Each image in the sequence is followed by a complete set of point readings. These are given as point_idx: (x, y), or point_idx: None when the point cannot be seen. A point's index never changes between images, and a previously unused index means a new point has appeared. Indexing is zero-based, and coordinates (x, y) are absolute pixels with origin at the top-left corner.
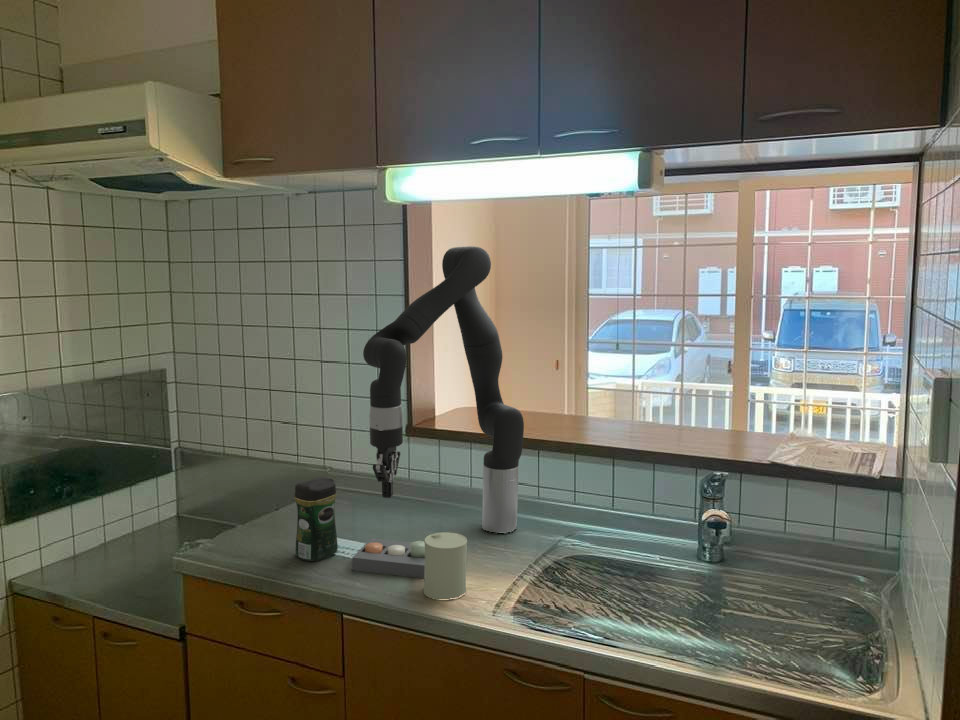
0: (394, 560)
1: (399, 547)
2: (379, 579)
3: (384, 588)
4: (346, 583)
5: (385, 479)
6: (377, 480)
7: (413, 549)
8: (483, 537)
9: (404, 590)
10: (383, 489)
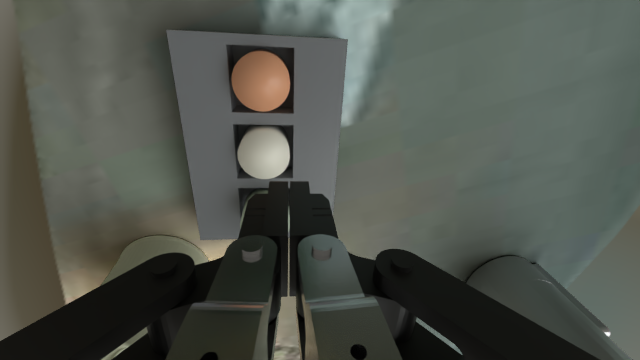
0: (200, 167)
1: (271, 162)
2: (157, 129)
3: (115, 157)
4: (86, 45)
5: (128, 351)
6: (132, 268)
7: (242, 213)
8: (447, 268)
9: (129, 201)
10: (243, 223)
